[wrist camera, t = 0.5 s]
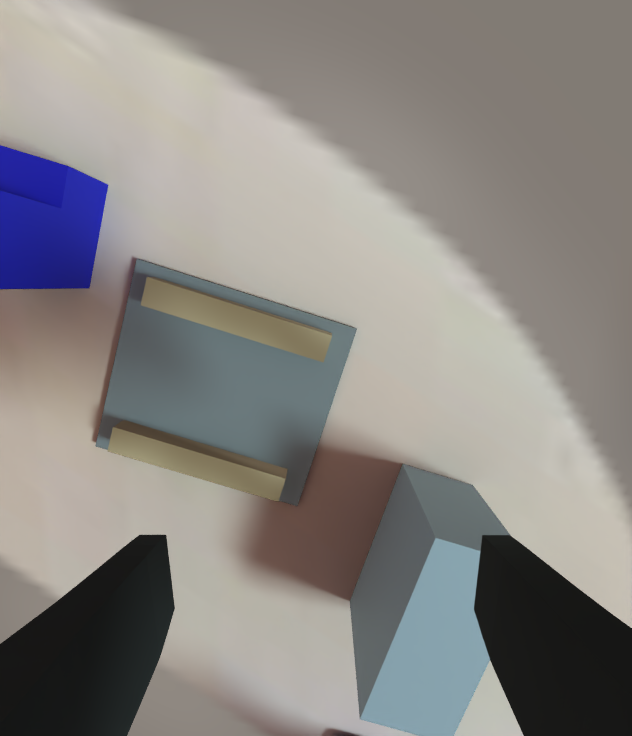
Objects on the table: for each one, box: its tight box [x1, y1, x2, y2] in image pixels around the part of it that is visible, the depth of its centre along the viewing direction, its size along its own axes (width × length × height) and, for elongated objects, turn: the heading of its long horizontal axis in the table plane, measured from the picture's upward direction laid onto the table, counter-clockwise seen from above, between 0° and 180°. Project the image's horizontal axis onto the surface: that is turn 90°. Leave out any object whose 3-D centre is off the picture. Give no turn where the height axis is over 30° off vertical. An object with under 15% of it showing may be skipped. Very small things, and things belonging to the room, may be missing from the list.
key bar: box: [350, 464, 511, 736], centre depth 18 cm, size 8×4×6 cm, turn 163°
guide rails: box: [108, 277, 332, 502], centre depth 18 cm, size 8×8×1 cm
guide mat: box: [96, 259, 357, 506], centre depth 19 cm, size 9×10×1 cm
